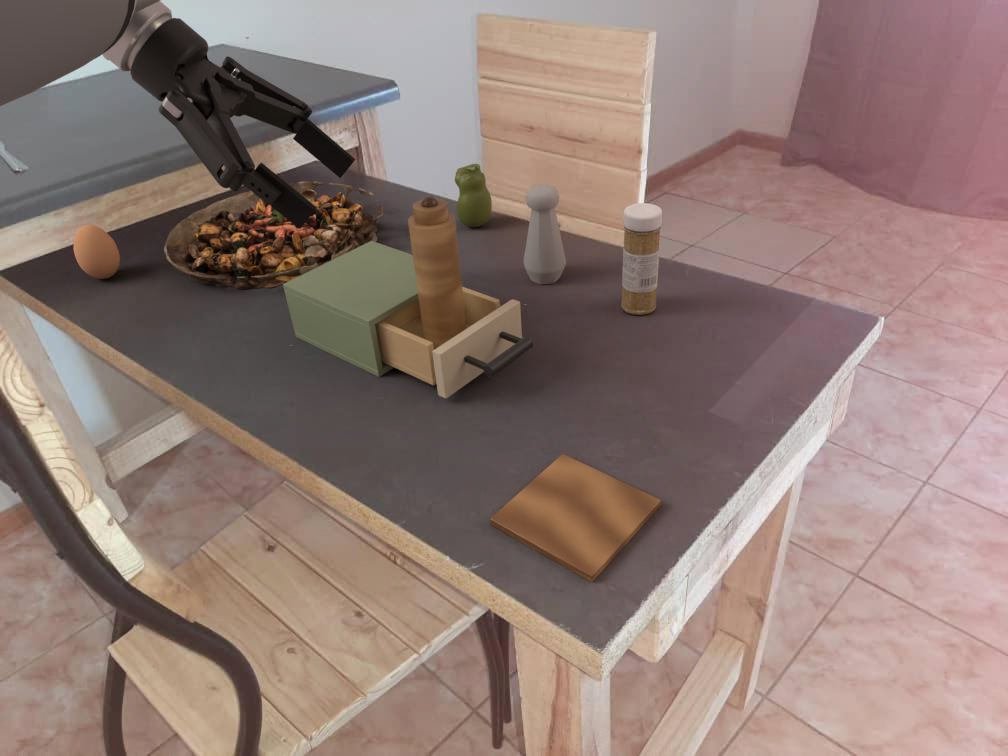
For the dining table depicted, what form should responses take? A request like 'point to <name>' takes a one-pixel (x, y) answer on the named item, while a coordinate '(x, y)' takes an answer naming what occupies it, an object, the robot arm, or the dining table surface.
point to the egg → (96, 252)
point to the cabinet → (352, 302)
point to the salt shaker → (543, 236)
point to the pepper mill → (437, 270)
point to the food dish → (267, 238)
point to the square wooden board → (576, 516)
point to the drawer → (455, 343)
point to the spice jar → (640, 257)
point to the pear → (473, 196)
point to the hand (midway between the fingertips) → (329, 192)
